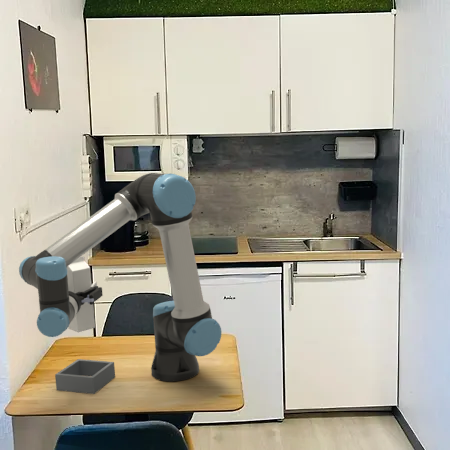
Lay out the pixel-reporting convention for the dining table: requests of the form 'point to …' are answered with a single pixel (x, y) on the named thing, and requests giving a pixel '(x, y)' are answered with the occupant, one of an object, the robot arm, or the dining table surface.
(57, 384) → the housing
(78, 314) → the milk
